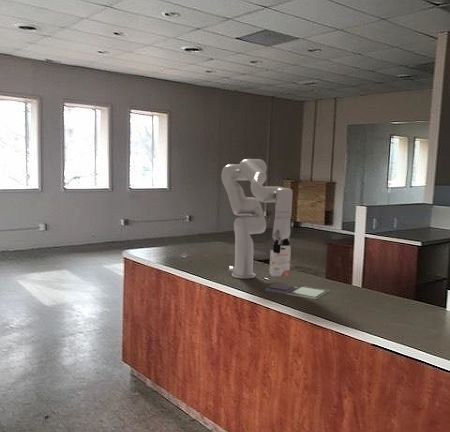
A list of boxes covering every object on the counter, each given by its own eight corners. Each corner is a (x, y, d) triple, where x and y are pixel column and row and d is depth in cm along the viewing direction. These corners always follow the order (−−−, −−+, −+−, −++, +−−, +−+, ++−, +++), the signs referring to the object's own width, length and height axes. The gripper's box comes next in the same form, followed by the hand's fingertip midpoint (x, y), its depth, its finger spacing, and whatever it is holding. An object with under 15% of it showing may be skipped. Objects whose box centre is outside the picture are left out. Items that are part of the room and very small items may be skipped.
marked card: (286, 294, 223) (286, 292, 222) (301, 286, 237) (301, 285, 237) (315, 299, 215) (315, 298, 215) (329, 291, 230) (329, 289, 230)
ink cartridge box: (285, 273, 234) (287, 243, 231) (289, 276, 229) (291, 245, 226) (268, 273, 232) (270, 243, 229) (272, 276, 227) (274, 246, 224)
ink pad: (265, 290, 228) (265, 286, 228) (274, 286, 237) (274, 282, 237) (286, 294, 223) (286, 290, 222) (295, 289, 231) (295, 286, 231)
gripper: (283, 212, 235) (281, 247, 237) (267, 215, 220) (265, 253, 223) (298, 214, 231) (295, 249, 233) (282, 217, 216) (280, 255, 219)
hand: (281, 251), depth 228 cm, fingers closed on ink cartridge box, 9 cm apart
